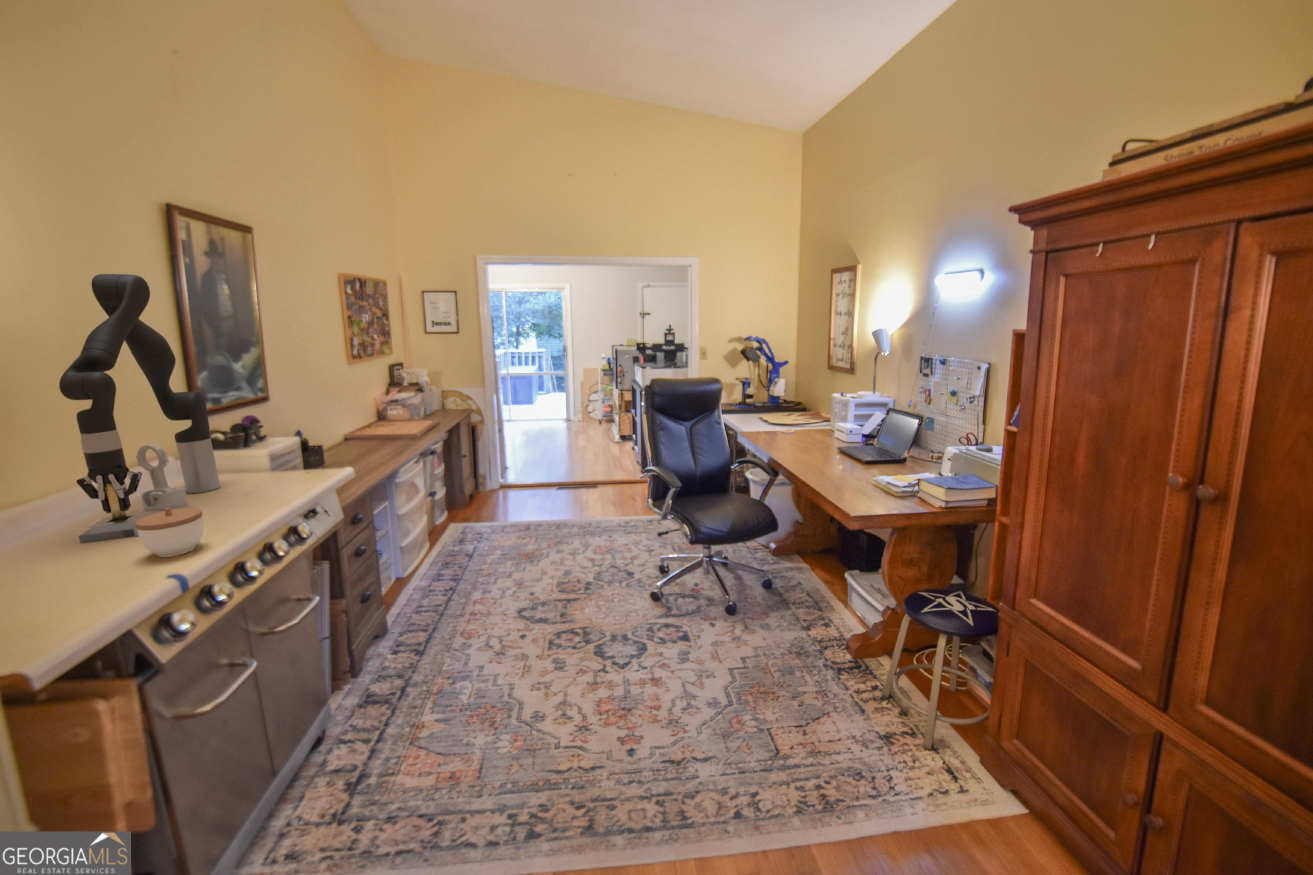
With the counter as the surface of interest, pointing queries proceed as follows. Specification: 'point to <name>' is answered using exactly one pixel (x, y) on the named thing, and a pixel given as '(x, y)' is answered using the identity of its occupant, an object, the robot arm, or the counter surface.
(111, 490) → the brass pin
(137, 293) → the robot arm
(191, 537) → the lidded bowl
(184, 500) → the engine component
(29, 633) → the counter surface
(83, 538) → the gray slotted plate
